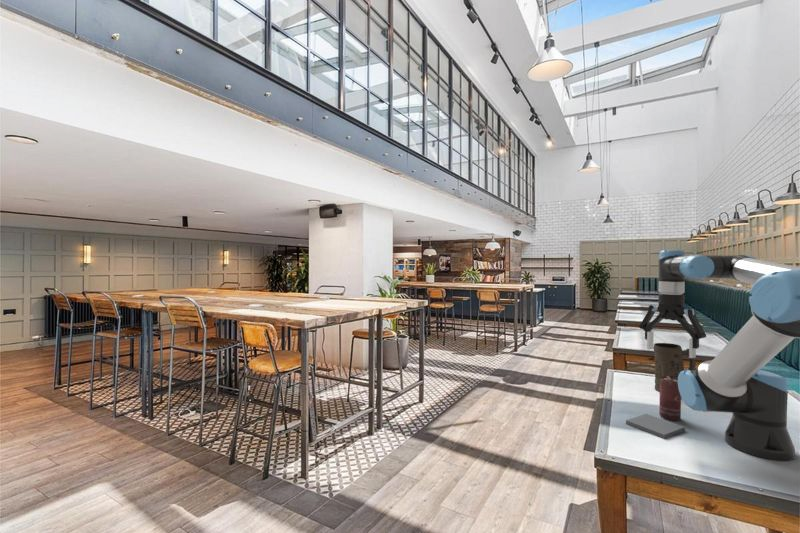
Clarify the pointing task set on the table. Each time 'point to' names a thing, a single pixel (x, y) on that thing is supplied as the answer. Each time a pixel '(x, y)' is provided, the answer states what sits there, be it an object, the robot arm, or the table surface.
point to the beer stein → (669, 361)
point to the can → (670, 399)
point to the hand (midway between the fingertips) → (670, 353)
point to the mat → (655, 425)
